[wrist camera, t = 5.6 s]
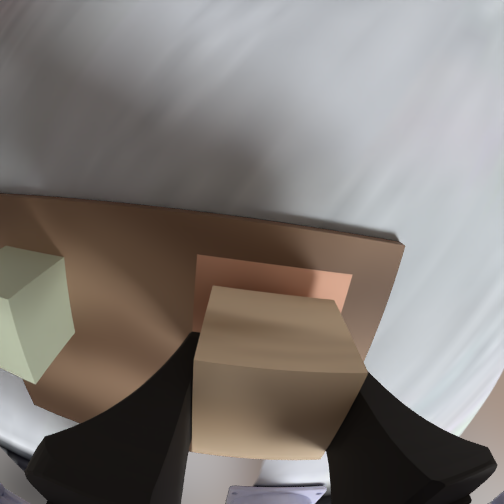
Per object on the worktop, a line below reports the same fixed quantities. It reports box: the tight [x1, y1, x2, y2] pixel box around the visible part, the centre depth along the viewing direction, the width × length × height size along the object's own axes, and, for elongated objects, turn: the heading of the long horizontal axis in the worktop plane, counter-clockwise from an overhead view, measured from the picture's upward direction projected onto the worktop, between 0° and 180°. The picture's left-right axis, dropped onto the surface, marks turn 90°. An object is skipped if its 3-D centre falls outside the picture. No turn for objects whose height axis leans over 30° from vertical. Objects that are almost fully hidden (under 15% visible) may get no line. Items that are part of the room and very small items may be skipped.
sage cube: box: [0, 246, 75, 384], centre depth 10 cm, size 4×4×4 cm
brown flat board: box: [0, 193, 405, 452], centre depth 13 cm, size 15×20×1 cm
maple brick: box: [192, 286, 368, 460], centre depth 9 cm, size 4×4×4 cm
